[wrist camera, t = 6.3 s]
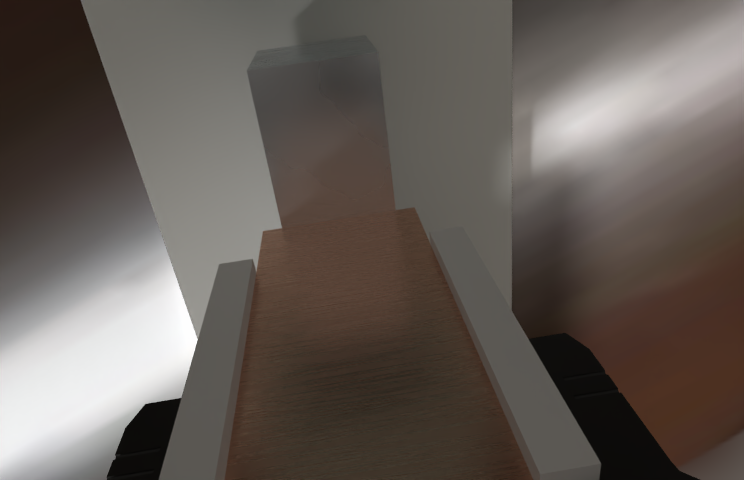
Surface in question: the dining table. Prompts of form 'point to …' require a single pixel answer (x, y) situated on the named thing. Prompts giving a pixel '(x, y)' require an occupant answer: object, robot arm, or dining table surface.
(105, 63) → the base board
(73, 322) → the dining table surface
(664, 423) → the dining table surface
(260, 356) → the inner bar
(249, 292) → the robot arm
